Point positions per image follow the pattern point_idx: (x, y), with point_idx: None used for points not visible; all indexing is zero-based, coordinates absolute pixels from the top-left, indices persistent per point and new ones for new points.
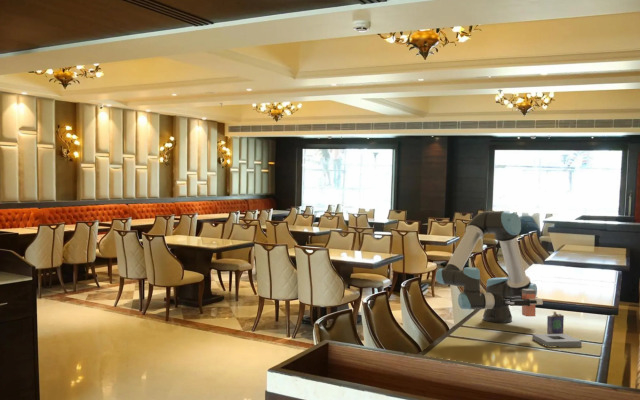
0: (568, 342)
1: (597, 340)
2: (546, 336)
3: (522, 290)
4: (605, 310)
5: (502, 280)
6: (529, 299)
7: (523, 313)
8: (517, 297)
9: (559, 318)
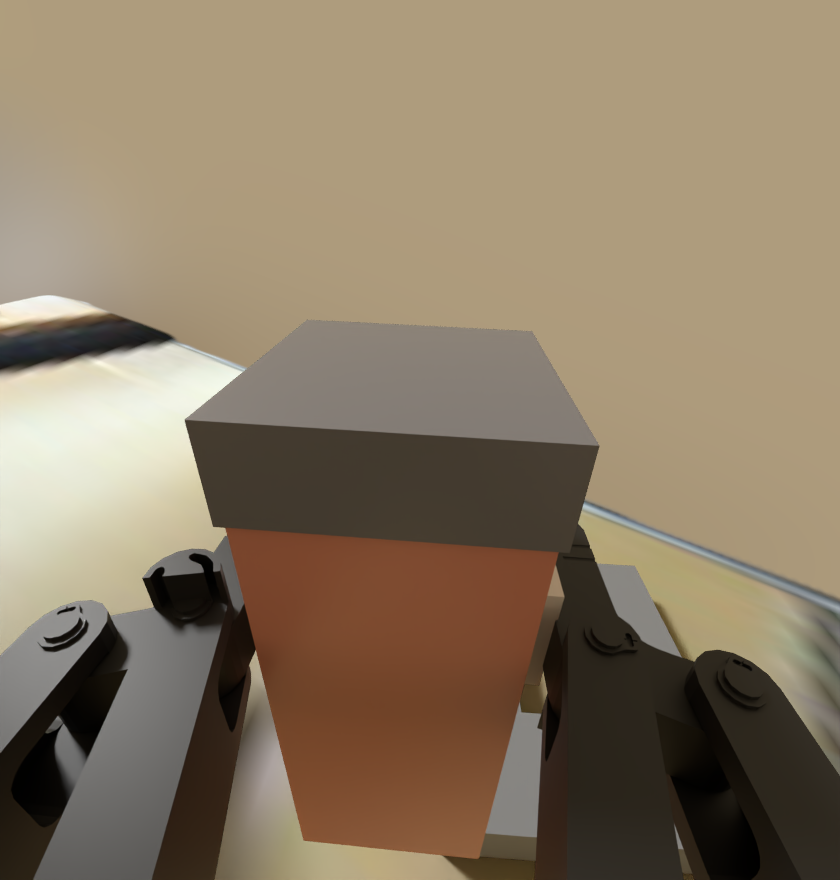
0: (671, 645)
1: None
2: (533, 722)
3: (256, 468)
4: (131, 330)
5: None
6: (610, 618)
7: (365, 833)
8: (174, 807)
9: None
